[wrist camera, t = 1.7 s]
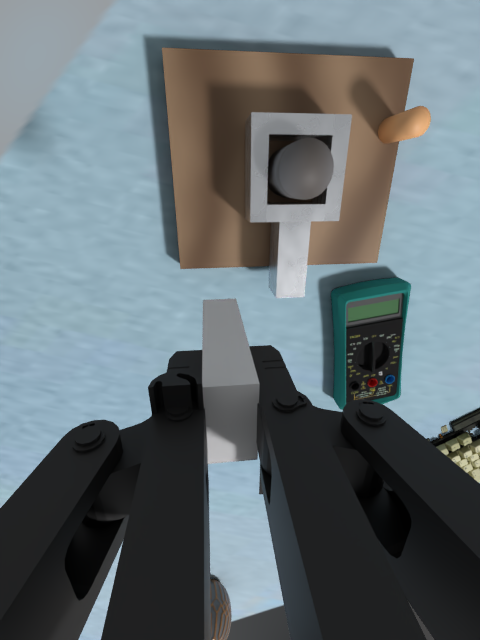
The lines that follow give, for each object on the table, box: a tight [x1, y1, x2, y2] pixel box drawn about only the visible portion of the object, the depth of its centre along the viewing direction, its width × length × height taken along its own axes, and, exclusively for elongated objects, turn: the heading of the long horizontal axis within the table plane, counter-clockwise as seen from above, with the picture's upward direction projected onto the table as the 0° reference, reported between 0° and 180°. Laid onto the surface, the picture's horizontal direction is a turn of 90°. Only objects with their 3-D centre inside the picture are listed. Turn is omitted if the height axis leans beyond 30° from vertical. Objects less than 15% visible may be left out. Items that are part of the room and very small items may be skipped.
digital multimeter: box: [331, 278, 411, 409], centre depth 33 cm, size 7×15×3 cm, turn 8°
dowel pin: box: [378, 106, 431, 144], centre depth 22 cm, size 2×2×4 cm
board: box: [162, 48, 414, 269], centre depth 23 cm, size 18×15×6 cm
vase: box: [210, 579, 231, 640], centre depth 45 cm, size 7×7×9 cm
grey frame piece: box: [245, 112, 352, 298], centre depth 24 cm, size 13×7×3 cm, turn 0°
